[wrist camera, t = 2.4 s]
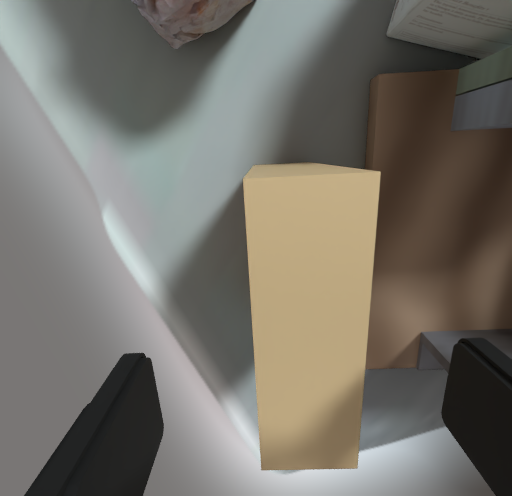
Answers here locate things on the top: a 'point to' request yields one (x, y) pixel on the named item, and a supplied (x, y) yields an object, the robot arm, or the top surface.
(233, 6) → the food item
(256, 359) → the book
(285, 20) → the top surface
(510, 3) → the supplement box
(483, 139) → the shelf
